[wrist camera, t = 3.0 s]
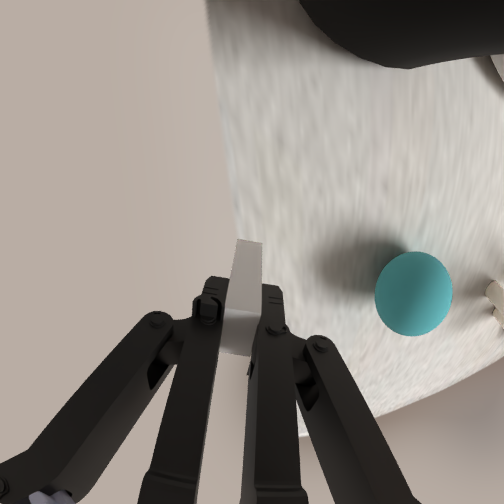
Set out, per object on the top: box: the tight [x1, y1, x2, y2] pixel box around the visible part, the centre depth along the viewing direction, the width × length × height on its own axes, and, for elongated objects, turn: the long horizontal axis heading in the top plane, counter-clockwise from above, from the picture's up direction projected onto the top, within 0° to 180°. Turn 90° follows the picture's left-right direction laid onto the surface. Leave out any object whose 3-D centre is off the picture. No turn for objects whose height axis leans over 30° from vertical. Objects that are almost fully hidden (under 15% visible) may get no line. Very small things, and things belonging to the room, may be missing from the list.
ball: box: [375, 252, 452, 336], centre depth 17 cm, size 6×6×6 cm
